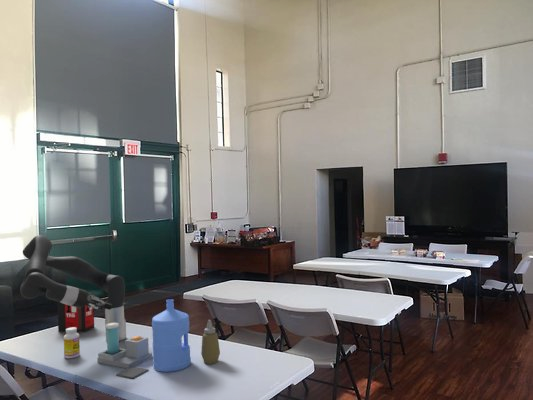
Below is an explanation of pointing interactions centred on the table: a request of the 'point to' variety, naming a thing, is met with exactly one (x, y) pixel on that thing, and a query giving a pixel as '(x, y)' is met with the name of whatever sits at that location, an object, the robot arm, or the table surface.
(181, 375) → the table surface
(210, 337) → the squeeze bottle
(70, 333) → the supplement bottle
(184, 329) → the water jug
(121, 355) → the housing
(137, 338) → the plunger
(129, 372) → the mat
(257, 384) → the table surface
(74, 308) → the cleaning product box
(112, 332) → the cylinder
